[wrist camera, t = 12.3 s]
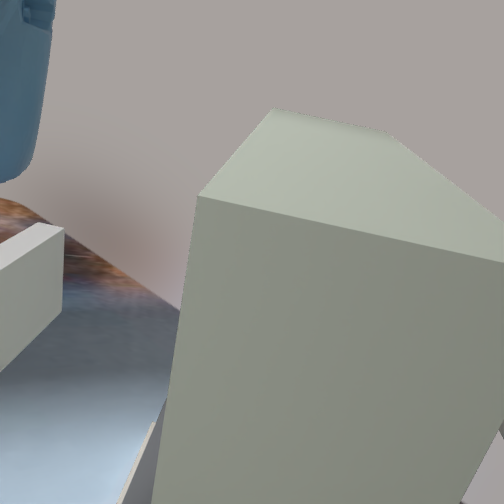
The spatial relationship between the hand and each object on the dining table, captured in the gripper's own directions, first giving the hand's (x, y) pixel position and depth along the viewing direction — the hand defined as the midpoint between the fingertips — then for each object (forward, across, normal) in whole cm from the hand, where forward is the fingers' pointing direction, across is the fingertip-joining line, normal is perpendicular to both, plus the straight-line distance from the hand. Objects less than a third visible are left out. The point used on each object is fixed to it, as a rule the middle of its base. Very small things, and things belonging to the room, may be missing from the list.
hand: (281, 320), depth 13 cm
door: (-3, 0, -10) cm, 11 cm away
